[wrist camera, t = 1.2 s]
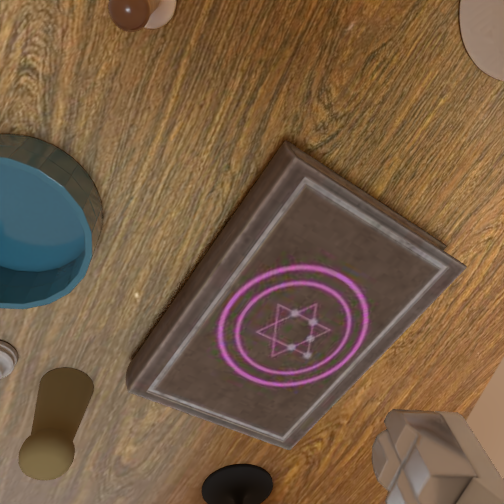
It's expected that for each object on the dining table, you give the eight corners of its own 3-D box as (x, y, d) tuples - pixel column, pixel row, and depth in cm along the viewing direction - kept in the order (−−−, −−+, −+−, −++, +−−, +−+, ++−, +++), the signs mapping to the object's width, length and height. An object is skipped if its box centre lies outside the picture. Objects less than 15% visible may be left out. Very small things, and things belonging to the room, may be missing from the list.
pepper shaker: (56, 359, 53) (28, 441, 44) (103, 381, 56) (87, 463, 46) (29, 392, 55) (-3, 477, 46) (76, 412, 58) (55, 496, 48)
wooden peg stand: (158, -42, 36) (138, -57, 21) (186, 10, 38) (186, 29, 23) (113, -14, 36) (65, -9, 22) (143, 36, 38) (117, 71, 24)
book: (282, 418, 63) (289, 451, 58) (128, 358, 55) (123, 391, 50) (444, 243, 52) (467, 267, 48) (281, 136, 44) (291, 153, 40)
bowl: (33, 103, 40) (10, 121, 35) (132, 231, 47) (125, 262, 42) (-97, 183, 42) (-137, 212, 37) (16, 295, 49) (-4, 332, 44)
